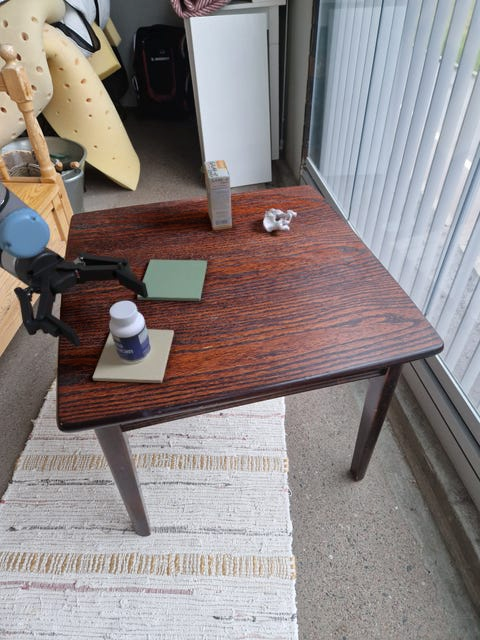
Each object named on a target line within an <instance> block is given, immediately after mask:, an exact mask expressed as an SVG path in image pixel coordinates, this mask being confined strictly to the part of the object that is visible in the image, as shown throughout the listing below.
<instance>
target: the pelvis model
mask: <svg viewBox="0 0 480 640" xmlns="http://www.w3.org/2000/svg"><path fill="white" fill-rule="evenodd" d="M264 212H265V213H264V216H263V220H262V225H263V228H264V229H265V231H267V232H268V233H272V231H276V230H279V231H290V223H291V220H292V219H293V217H294V218H297V216H298V215H297V212H295V211H293V210H291V209H288V210H286V213H285V212H283V211H282V210H281V209H275V208H273V207H272V208H269V209H268V211H267V210H265V211H264ZM287 219H288V220H287Z"/></svg>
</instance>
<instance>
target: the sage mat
mask: <svg viewBox="0 0 480 640" xmlns="http://www.w3.org/2000/svg"><path fill="white" fill-rule="evenodd" d="M207 266H208V260H198V259H197V260H195V259H190V260H189V259H149V262H148V265H147V268H146V271H145V273H144V276H143V279H142V282H144V283H145V284H146V288H147V293H148V297H146V298H143V297H142V296H140V295H138V294H137V296H136V298H137V300H139V301H171V302H173V301H174V302H176V301H178V302H201V298H202V294H203V293H202V292H203V287H204V282H205V277H206V272H207Z"/></svg>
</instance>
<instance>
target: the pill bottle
mask: <svg viewBox="0 0 480 640" xmlns="http://www.w3.org/2000/svg"><path fill="white" fill-rule="evenodd" d="M109 316H110V320H109V324H108V326H109V327H108V328H109V330H110V331H111V334H112V337H113V340H114V343H115V346H116V349H117V353H118V355H119V358H120V359H121V360H122V361H123V362H125V363H129V364H135V363H139V362H142V361H144V360H145V359H146V358H147V357H148V356H149V354H150V352H151V345H150V341H149V336H148V332H147V329H148V328H147V324H146V320H145V317H144V316H143V314H142V313H141V312H139V311H138V307H137V305H136V303H135V302H132V301H130V300H121V301H117V302H116V303H114V304H113V305H112V306H111V307H110V309H109Z"/></svg>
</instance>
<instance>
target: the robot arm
mask: <svg viewBox="0 0 480 640" xmlns="http://www.w3.org/2000/svg"><path fill="white" fill-rule="evenodd" d="M50 239H51V230H50V227H49V224H48V222H47V220H46V219H44V218H43V216H42V215H41V214H40V213H39V212H38V211H36V210H35V209H34V208H32V207H30V206H29V205H28V204H27V203H26V202H24V200H23V199H21V198H20V197H19V196H18V195H17V194H15V193H14V192H13V191H12V190H11V189H9V188H8V187H7V186H5V184H4V183H3V182H2V180H1V179H0V268H1V269H3V271H6V272H7V273H8V274H10V275H11V276H13V277H14V278H15V279H17V280H19V281H20V282H21V283H23V284H25V286H27V287H25V288H22V287H21V286H16V287H15V288H14V289H13V292H14V294H15V296H16V298H17V300H18V303H19V307H20V308H19V309H20V314H21V321H22V324H23V326H24V328H25V330H26V332H27V333H28V335H29V336H34V335H36V334H37V332H38V331H41V332H42V333H43V334H44V335H47V334H49V336H51V337H53V338H58V337H60V336H61V337H62V338H64V339H65V340H67V341H68V342H70V343H71V344H72V345H73V346H75V347H79V346H81V345H82V342H81V340H80V337H79V335H78V332H77V331H76V330H75V329H73V327H71V326H70V325H68V324H66V323H65V322H64V321H62V320H61V319H59V318H58V317H57V316H55V315H54V314H53V309H54V303H56V299H57V295H58V294H60V295H61V294H63V293H65V292H66V291H67V290H69V289H71V288H73V287H75V286H77V285H84V284H86V283H87V282H103V281H105V282H108V281H118V284H119V285H120V286H122V287H124V288H126V289H128V290H130V291H131V292H132V293H135V294H137V296H138V295H140V296H142V297H143V298H146V297H148V293H147V288H146V284H145V283H144V282H143V280H140V279H138V276H137V274H136V273H133V272H132V269H131V265H130V262H129V259H128V258H125V257H115V256H106V255H99V254H98V255H97V254H89V253H87V252H85V251H79V252H77V258H76V259H74V260H67V259H66V258H64V257H63V256H62V255H61V254H59V253H58V252H56V251H54V250H52V249H51V248H49V247H47V246H48V244H49V242H50ZM34 294H36V295H39V300H38V305H37V309H36V314H35V313H34V309H33V304H32V301H33V295H34Z"/></svg>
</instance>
